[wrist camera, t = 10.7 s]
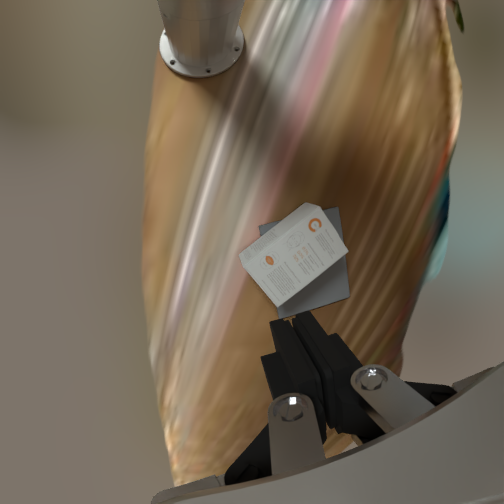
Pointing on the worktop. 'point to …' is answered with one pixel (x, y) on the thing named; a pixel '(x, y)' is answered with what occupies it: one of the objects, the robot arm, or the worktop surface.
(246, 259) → the small box
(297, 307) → the mat
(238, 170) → the worktop surface
